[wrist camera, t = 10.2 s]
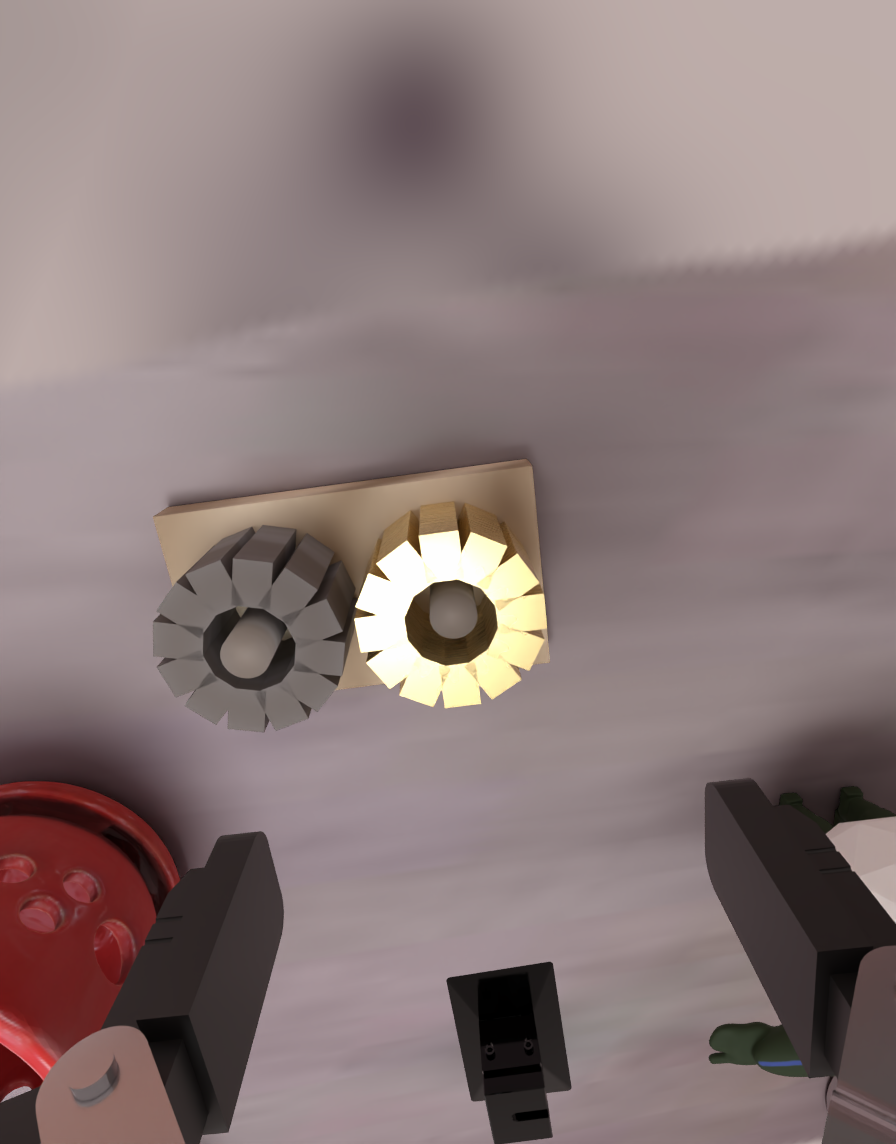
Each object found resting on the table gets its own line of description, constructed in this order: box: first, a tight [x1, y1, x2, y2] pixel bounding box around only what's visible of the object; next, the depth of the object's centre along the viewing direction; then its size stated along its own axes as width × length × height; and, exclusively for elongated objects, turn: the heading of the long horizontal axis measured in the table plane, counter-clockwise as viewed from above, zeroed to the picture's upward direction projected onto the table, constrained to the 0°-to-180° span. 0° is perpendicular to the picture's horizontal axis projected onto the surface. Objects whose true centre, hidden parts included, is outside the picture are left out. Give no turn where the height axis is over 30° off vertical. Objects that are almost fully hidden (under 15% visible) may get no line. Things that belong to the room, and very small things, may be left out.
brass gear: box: [354, 501, 547, 708], centre depth 24 cm, size 6×6×4 cm
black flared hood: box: [447, 962, 571, 1144], centre depth 34 cm, size 12×7×5 cm, turn 9°
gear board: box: [153, 459, 550, 732], centre depth 24 cm, size 14×8×6 cm, turn 97°
